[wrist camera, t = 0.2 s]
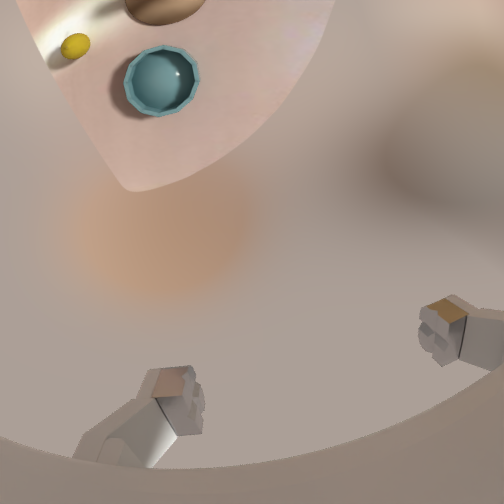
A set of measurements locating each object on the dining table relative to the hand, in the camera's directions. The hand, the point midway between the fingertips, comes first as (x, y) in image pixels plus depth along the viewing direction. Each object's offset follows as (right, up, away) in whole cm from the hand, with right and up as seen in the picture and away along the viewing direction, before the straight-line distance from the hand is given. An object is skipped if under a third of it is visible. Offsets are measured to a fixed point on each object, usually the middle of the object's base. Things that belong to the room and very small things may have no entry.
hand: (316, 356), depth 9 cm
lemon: (-35, +44, +27) cm, 63 cm away
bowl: (-19, +37, +36) cm, 55 cm away
